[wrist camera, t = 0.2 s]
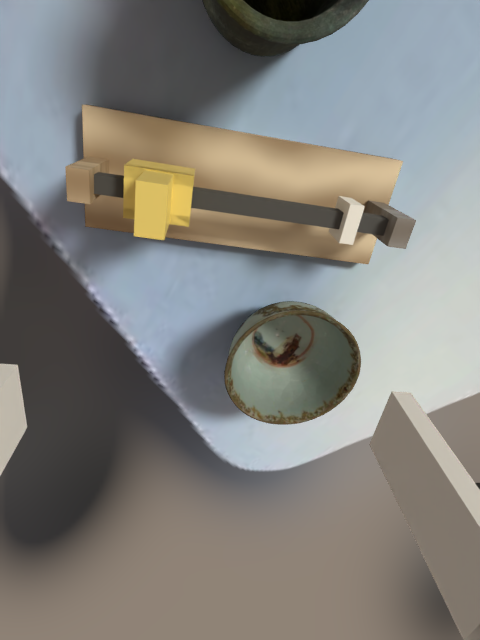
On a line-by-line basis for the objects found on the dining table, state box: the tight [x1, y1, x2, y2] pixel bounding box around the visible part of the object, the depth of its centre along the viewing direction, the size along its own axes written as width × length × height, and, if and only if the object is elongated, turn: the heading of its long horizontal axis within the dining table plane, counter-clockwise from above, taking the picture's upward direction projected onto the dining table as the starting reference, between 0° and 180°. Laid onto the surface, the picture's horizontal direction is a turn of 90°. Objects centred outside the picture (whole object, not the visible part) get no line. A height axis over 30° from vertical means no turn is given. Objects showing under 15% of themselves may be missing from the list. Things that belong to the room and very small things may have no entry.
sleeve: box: [123, 159, 195, 240], centre depth 29 cm, size 4×5×8 cm
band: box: [329, 196, 365, 245], centre depth 33 cm, size 3×1×3 cm, turn 171°
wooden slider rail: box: [66, 105, 416, 264], centre depth 33 cm, size 10×28×8 cm, turn 81°
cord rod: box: [94, 172, 389, 236], centre depth 32 cm, size 1×24×1 cm, turn 81°
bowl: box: [225, 301, 361, 424], centre depth 41 cm, size 14×14×8 cm
